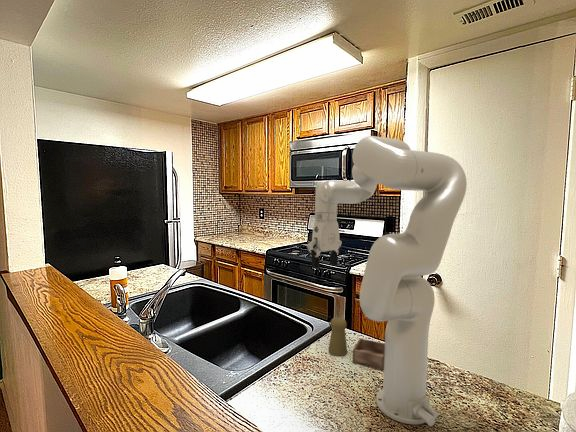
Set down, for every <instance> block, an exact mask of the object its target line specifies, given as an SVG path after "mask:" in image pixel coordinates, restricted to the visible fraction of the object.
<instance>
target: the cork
mask: <svg viewBox="0 0 576 432" xmlns="http://www.w3.org/2000/svg"><path fill="white" fill-rule="evenodd" d="M347 325H348V324H347V320H346V319H344V318H343V317H333V318H331V320H330V328H331V333H330V339H329V345H328V354H330V355H331V356H333V357H337V358H338V357H345V356H347V354H348V349H347V338H346V329H347Z"/></svg>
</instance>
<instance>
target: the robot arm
mask: <svg viewBox="0 0 576 432" xmlns="http://www.w3.org/2000/svg"><path fill="white" fill-rule="evenodd" d="M352 162H353V167H352V169H351V175H352V178H353V180H339V179H338V180H337V179H331V180H330V179H329V180H325V181H320V182H317V184H316V185H315V202H314V203H315V204H314V206H315V207H314V208H315V210H314V222H313V228H312V235H311V241H309V243H307V245H306V248H307V250H308V253H309V257H311V262H310V263H311V268H312V269H314V270H319V269H320V266H321V265H320V263H321V262H320V260H321V259H320V257H319V256H320V255H321V252H330V253H329V265H331V266H334V267H335V266H338V264H339V263H338V259H339V257H338V256H339V253H340V250H341V246H342V243H343V242H342V240H340V228H339V222H338V221H337V220H338V217H337V216H338V205H339V204H347V205H348V204H349V205H351V204H352V205H353V204H354V205H355V204H359V203H362V202H363V201H366V200H368V199H370V198H371V197H372V196H373V195H374V193H375V192H376V189H377V186H378V185H379V184H380V185H381V186H384V187H385V188H387V189H391V190H397V191H414V192H415V191H418V192H419V191H422V192H424V193H425V194H424V195H423V197H422V198H420V200H419V201H418V202H417V203H416V204H415V205H414V207H413V209H412V211H411V214H410V216H409V220H408V224H407V226H406V229H405V230H404V232H402V233H387V234H385V235H384V234H383V235H381V236H380V237H378V238H377V239H376V240H375V241H374V242H373V243H372V245H371V247H370V250H369V253H368V257H367V260H366V265H365V269H364V273H363V277H362V280H361V285H360V289H359V290H360V291H359V305H360V308H361V311H362V313H363V315H364V316H365V317H366V318H367V319H369V320H371V321H373V322H387V323H386V328H385V333H384V343H385V350H384V370H383V383H382V384H383V385H382V388H381V389H380V390H379V391H378V392H377V394H376V396H375V398H376V399H375V400H376V405H377V406H378V409H379V410H380V411H381V412H382V413H383V414H384V415H385V416H387V417H388V418H390V419H392V420H394V421H397V422H400V423H403V424H406V425H407V424H408V425H422V424H425V423H426V424H427V426H429V427H433V426H434V425H435V422H436V418H438V417H439V412H438V411H436V410H435V409H433V405H432V404H431V402H430V398H431V397H430V396H428V395H427V374H428V352H429V351H428V350H429V334H430V333H429V331H430V326H431V319H432V314H433V311H434V308H435V301H436V300H435V298H436V297H435V293H434V292H435V291H434V289H433V287H432V285H431V284H430V282H429V281H428V280H426V278H424V277H423V276H428V275H431V274H433V273H435V272H436V271H437V270H438V268H439V267H440V265H441V261H442V259H443V256H444V252H445V250H446V247H447V244H448V242H449V238H450V235H451V232H452V229H453V226H454V222H455V219H456V218H457V215H458V213H459V211H460V208H461V206H462V204H463V202H464V199H465V196H466V193H467V176H466V173H465V170H464V168H463V167H462V166H461V164H460V163H459V162H458V161H457V160H456V159H454V158H453V157H451V156H449V155H446V154H443V153H439V152H434V151H425V150H424V151H423V150H422V151H420V150H413V149H411V148H410V146H409V145H408V143H406V142H405V141H403V140H400V139H398V138H391V137H383V136H376V135H368V136H365V137H363V138H362V139H360V140H359V141H358V142H357V143H356V145H355V146H354V148H353V151H352Z"/></svg>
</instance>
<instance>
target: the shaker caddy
mask: <svg viewBox="0 0 576 432" xmlns="http://www.w3.org/2000/svg"><path fill="white" fill-rule="evenodd" d="M384 350H385V342H384V343H383V342H379V341H375V340H370V339H365V338H359V339H358V341H357V343H356V344H355V345H354V348H353V349H352V364H356V365H360V366H364V367H368V368H371V369H377V370H380V371H384Z"/></svg>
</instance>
